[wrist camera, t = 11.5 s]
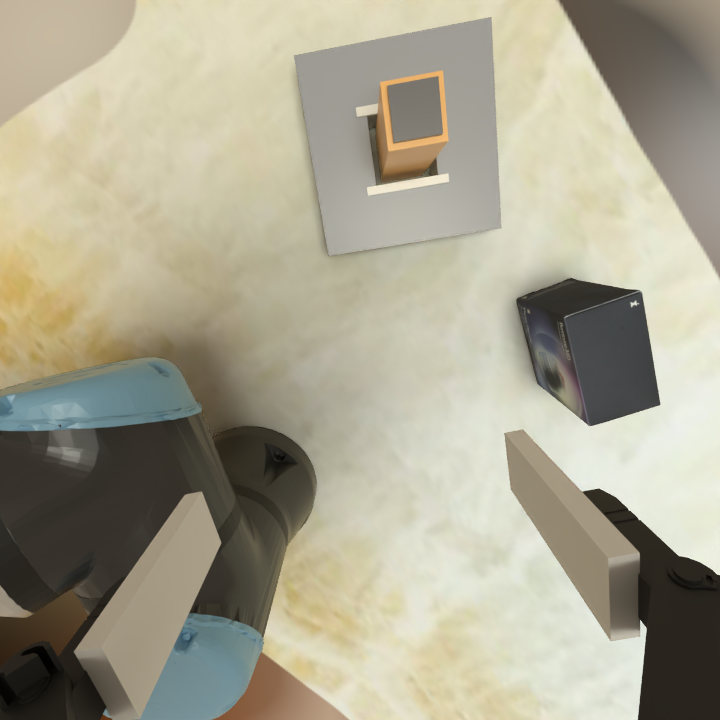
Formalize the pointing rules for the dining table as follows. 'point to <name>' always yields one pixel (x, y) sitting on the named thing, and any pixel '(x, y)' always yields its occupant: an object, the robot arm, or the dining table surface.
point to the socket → (359, 114)
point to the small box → (591, 348)
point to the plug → (410, 125)
